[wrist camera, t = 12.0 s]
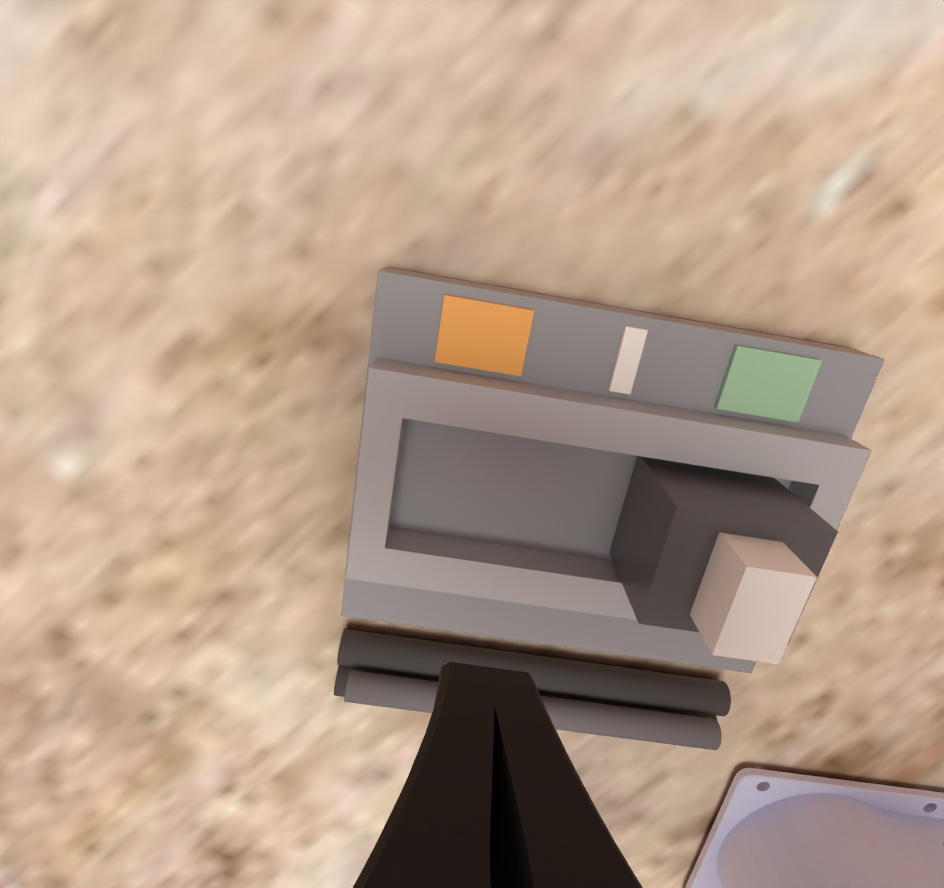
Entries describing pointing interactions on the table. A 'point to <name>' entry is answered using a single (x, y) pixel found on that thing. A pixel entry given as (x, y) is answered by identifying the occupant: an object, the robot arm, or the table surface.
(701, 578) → the breaker slider
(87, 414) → the table surface
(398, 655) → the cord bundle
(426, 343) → the breaker panel
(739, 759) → the table surface
